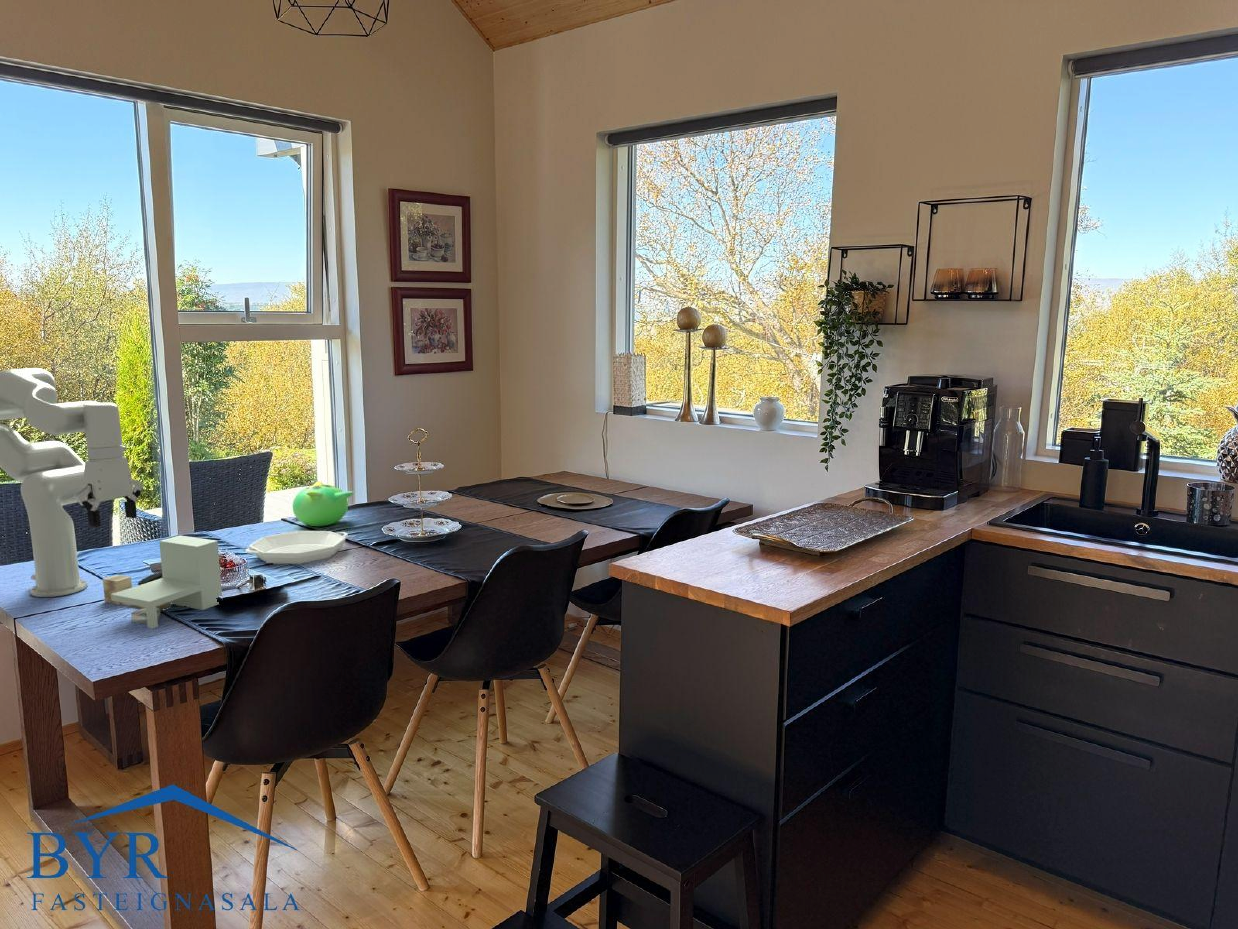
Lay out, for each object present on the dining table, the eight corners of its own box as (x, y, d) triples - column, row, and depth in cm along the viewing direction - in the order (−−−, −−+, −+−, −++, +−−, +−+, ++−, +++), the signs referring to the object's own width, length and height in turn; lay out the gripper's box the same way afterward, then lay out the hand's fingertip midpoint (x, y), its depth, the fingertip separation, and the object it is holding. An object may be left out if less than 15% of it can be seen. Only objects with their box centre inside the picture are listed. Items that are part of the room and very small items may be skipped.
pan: (329, 538, 284) (328, 525, 283) (366, 554, 266) (366, 540, 265) (230, 556, 263) (229, 542, 262) (263, 574, 245) (262, 559, 244)
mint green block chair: (131, 573, 237) (222, 549, 256) (133, 586, 238) (223, 561, 256) (143, 579, 232) (235, 554, 250) (146, 592, 233) (237, 567, 251)
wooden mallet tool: (105, 602, 221) (102, 579, 220) (119, 597, 225) (117, 574, 224) (158, 612, 213) (156, 588, 212) (172, 607, 217) (170, 584, 216)
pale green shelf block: (113, 620, 208) (106, 555, 205) (185, 596, 226) (180, 535, 223) (152, 628, 202) (145, 561, 200) (222, 602, 220) (217, 540, 218)
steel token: (126, 622, 207) (125, 614, 207) (148, 614, 213) (148, 606, 212) (144, 626, 205) (143, 617, 205) (166, 617, 210) (165, 609, 210)
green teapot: (338, 517, 312) (335, 476, 309) (358, 525, 299) (355, 483, 297) (287, 524, 300) (284, 482, 298) (305, 534, 288) (302, 490, 285)
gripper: (127, 447, 224) (134, 513, 227) (61, 458, 209) (69, 528, 211) (148, 449, 221) (155, 515, 224) (82, 459, 206) (90, 530, 208)
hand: (113, 521), depth 218 cm, fingers open, 9 cm apart
